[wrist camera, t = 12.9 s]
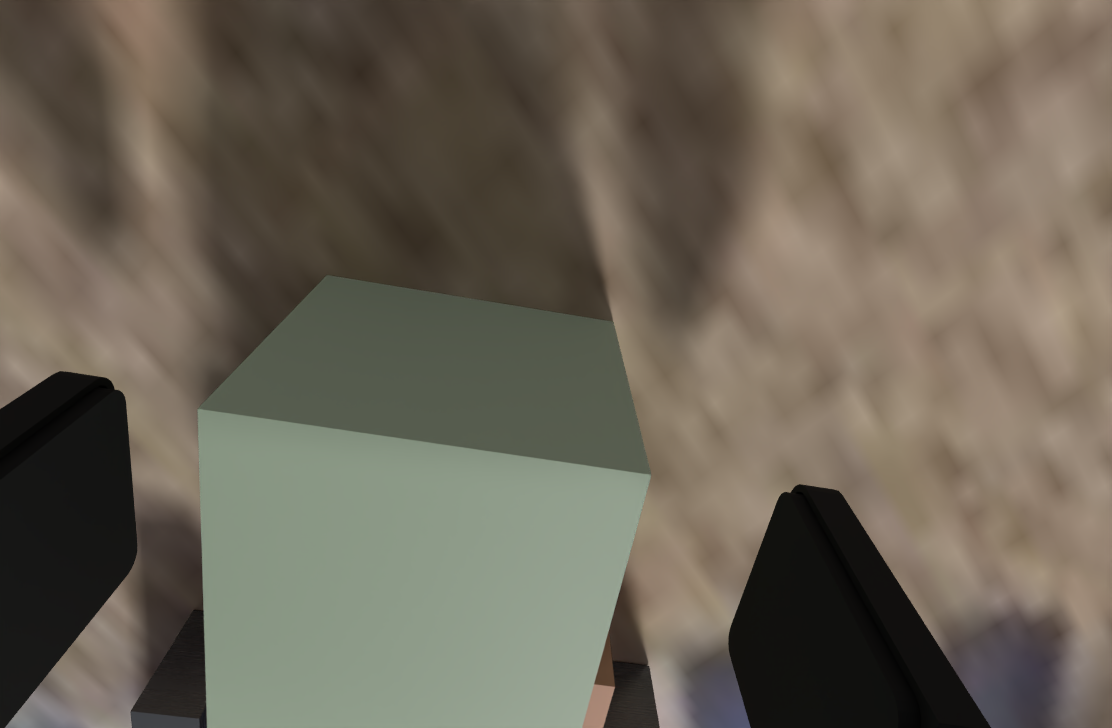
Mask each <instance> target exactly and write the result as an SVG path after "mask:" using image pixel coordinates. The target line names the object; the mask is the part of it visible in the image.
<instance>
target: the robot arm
mask: <svg viewBox="0 0 1112 728" xmlns="http://www.w3.org/2000/svg"><path fill="white" fill-rule="evenodd" d="M136 554H137V534H136V522H135V509H134V497H133V484H132V472H131V459H130V447H129V434H128V422H127V409H126V400H125V396H124V394H123V393H122V392H121V391H119V390H115V389H114V386H113V384H112V382H111V381H110V380H109V379H107V378H104V377H97V376H91V375H84V374H78V373H71V372H63V371H60V372H57V373H55V374H53V375H51V376H50V377H48V378H47V379H45V380H44V381H42V382H41V383H39V384H38V385H36V386H35V387H33V388H32V389H30V390H29V391H27V392H26V393H24V394H23V395H21V396H20V397H18V398H17V399H15V400H14V401H12V402H11V403H9V404H8V405H6V406H4V407H3V408H1V409H0V728H5V727H6V725H7V724H8V723H9V722H10V720H11V719H12V718H13V717H14V715H15V714H16V713H17V712H18V710H19V709H20V708H21V707H22V706H23V704H24V703H25V702H26V701H27V699H28V698H29V697H30V696H31V694H32V693H33V692H34V691H35V689H36V688H37V687H38V686H39V684H40V683H41V682H42V681H43V679H44V678H45V677H46V676H47V674H48V673H49V672H50V671H51V669H52V668H53V667H54V666H55V664H56V663H57V662H58V661H59V659H60V658H61V657H62V656H63V654H64V653H65V652H66V651H67V649H68V648H69V647H70V646H71V645H72V643H73V642H74V641H75V640H76V638H77V637H78V636H79V635H80V633H81V632H82V631H83V630H84V628H85V627H86V626H87V625H88V623H89V622H90V621H91V620H92V618H93V617H94V616H95V615H96V613H97V612H98V611H99V610H100V608H101V607H102V606H103V605H104V603H105V602H106V601H107V600H108V598H109V597H110V596H111V595H112V593H113V592H114V591H115V590H116V588H117V587H118V586H119V585H120V584H121V582H122V581H123V580H124V579H125V577H126V576H127V575H128V573H129V572H130V570H131V568H132V566H133V564H134V561H135V558H136ZM728 644H729V653H730V657H731V661H732V664H733V668H734V671H735V674H736V678H737V681H738V685H739V688H740V692H741V695H742V699H743V702H744V706H745V709H746V713H747V716H748V720H749V723H750V727H751V728H991V727H990V725H989V724H988V722H987V721H986V719H985V718H984V716H983V714H982V713H981V711H980V710H979V708H978V707H977V705H976V703H975V702H974V700H973V699H972V697H971V696H970V694H969V693H968V691H967V689H966V688H965V686H964V685H963V683H962V682H961V680H960V678H959V677H958V675H957V674H956V672H955V671H954V669H953V667H952V666H951V664H950V663H949V661H948V660H947V658H946V656H945V655H944V653H943V652H942V650H941V649H940V647H939V646H938V644H937V642H936V641H935V639H934V638H933V636H932V635H931V633H930V631H929V630H928V628H927V627H926V625H925V624H924V622H923V620H922V619H921V617H920V616H919V614H918V613H917V611H916V609H915V608H914V606H913V605H912V603H911V602H910V600H909V599H908V597H907V595H906V594H905V592H904V591H903V589H902V588H901V586H900V584H899V583H898V581H897V580H896V578H895V577H894V575H893V573H892V572H891V570H890V569H889V567H888V566H887V564H886V563H885V561H884V559H883V558H882V556H881V555H880V553H879V552H878V550H877V548H876V547H875V545H874V544H873V542H872V541H871V539H870V537H869V536H868V534H867V533H866V531H865V530H864V528H863V526H862V525H861V523H860V522H859V520H858V519H857V517H856V516H855V514H854V512H853V511H852V509H851V508H850V506H849V505H848V503H847V501H846V500H845V498H844V497H843V495H842V494H841V493H840V492H839V491H837V490H833V489H827V488H820V487H814V486H807V485H801V484H799V485H797V486H795V487H794V488H793V490H792V491H791V493H788V492H784V493H782V494H781V495H780V497H779V499H778V501H777V503H776V506H775V509H774V511H773V514H772V517H771V520H770V522H769V525H768V528H767V530H766V533H765V536H764V538H763V541H762V544H761V547H760V549H759V552H758V555H757V557H756V560H755V563H754V565H753V568H752V571H751V573H750V576H749V579H748V582H747V584H746V587H745V590H744V592H743V595H742V598H741V600H740V603H739V606H738V609H737V611H736V614H735V617H734V619H733V622H732V625H731V628H730V632H729V643H728Z"/></svg>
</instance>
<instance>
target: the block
mask: <svg viewBox="0 0 1112 728" xmlns="http://www.w3.org/2000/svg"><path fill="white" fill-rule="evenodd" d="M198 442H199V475H200V508H201V542H202V575H203V608H204V641H205V674H206V707H207V728H582V726H583V723H584V719H585V715H586V712H587V708H588V705H589V701H590V697H591V694H592V690H593V686H594V683H595V679H596V675H597V672H598V668H599V664H600V661H601V657H602V653H603V650H604V646H605V642H606V639H607V635H608V631H609V628H610V624H611V620H612V617H613V613H614V609H615V606H616V602H617V598H618V595H619V591H620V588H621V584H622V580H623V577H624V573H625V569H626V566H627V562H628V558H629V555H630V551H631V547H632V544H633V540H634V536H635V533H636V529H637V525H638V522H639V518H640V514H641V511H642V507H643V503H644V500H645V496H646V492H647V489H648V485H649V481H650V478H651V472H650V468H649V464H648V460H647V456H646V452H645V448H644V444H643V439H642V435H641V431H640V427H639V423H638V419H637V415H636V411H635V407H634V403H633V399H632V395H631V391H630V387H629V383H628V379H627V375H626V371H625V367H624V363H623V359H622V355H621V351H620V347H619V343H618V339H617V335H616V330H615V326H614V322H612V321H606V320H600V319H594V318H588V317H581V316H575V315H569V314H563V313H557V312H551V311H545V310H539V309H532V308H526V307H520V306H514V305H508V304H502V303H496V302H490V301H483V300H477V299H471V298H465V297H459V296H453V295H447V294H441V293H434V292H428V291H422V290H416V289H410V288H404V287H398V286H392V285H385V284H379V283H373V282H367V281H361V280H355V279H349V278H342V277H336V276H330V275H326V276H325V278H324V279H323V280H322V281H321V282H320V283H319V284H318V285H317V286H316V287H315V288H314V289H313V290H312V291H311V292H310V293H309V294H308V295H307V296H306V297H305V298H304V299H303V300H302V301H301V302H300V303H299V304H298V305H297V306H296V307H295V309H294V310H293V311H292V312H291V313H290V314H289V315H288V316H287V317H286V318H285V319H284V320H283V321H282V322H281V323H280V324H279V325H278V326H277V327H276V328H275V329H274V330H273V331H272V332H271V333H270V334H269V335H268V336H267V337H266V338H265V340H264V341H263V342H262V343H261V344H260V345H259V346H258V347H257V348H256V349H255V350H254V351H253V352H252V353H251V354H250V355H249V356H248V357H247V358H246V359H245V360H244V361H243V362H242V363H241V364H240V365H239V366H238V367H237V368H236V369H235V371H234V372H233V373H232V374H231V375H230V376H229V377H228V378H227V379H226V380H225V381H224V382H223V383H222V384H221V385H220V386H219V387H218V388H217V389H216V390H215V391H214V392H213V393H212V394H211V395H210V396H209V397H208V398H207V399H206V400H205V402H204V403H203V404H202V405H201V406H200V407H199V408H198Z"/></svg>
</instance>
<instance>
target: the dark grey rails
mask: <svg viewBox="0 0 1112 728" xmlns="http://www.w3.org/2000/svg"><path fill="white" fill-rule="evenodd" d="M612 664H613V673H614V682H615V689H614V692H613V696H612V699H611V703H610V706H609V709H608V713H607V716H606V720H605V723H604V726H603V728H660V727H659V721H658V715H657V709H656V704H655V698H654V692H653V686H652V680H651V674H650V668H649V666H646V665H637V664H629V663H621V662H613V661H612ZM131 722H132V728H207V707H206V674H205V641H204V611H197V610H194V611H193V612H192V614H191V615H190V617H189V619H188V620H187V622H186V623H185V625H184V627H183V628H182V630H181V631H180V633H179V635H178V636H177V638H176V639H175V641H174V643H173V644H172V646H171V647H170V649H169V651H168V652H167V654H166V655H165V657H164V659H163V660H162V662H161V663H160V665H159V667H158V668H157V670H156V671H155V673H154V675H153V676H152V678H151V679H150V681H149V683H148V684H147V686H146V687H145V689H144V691H143V692H142V694H141V695H140V697H139V699H138V700H137V702H136V703H135V705H134V707H133V708H132V710H131Z"/></svg>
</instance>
